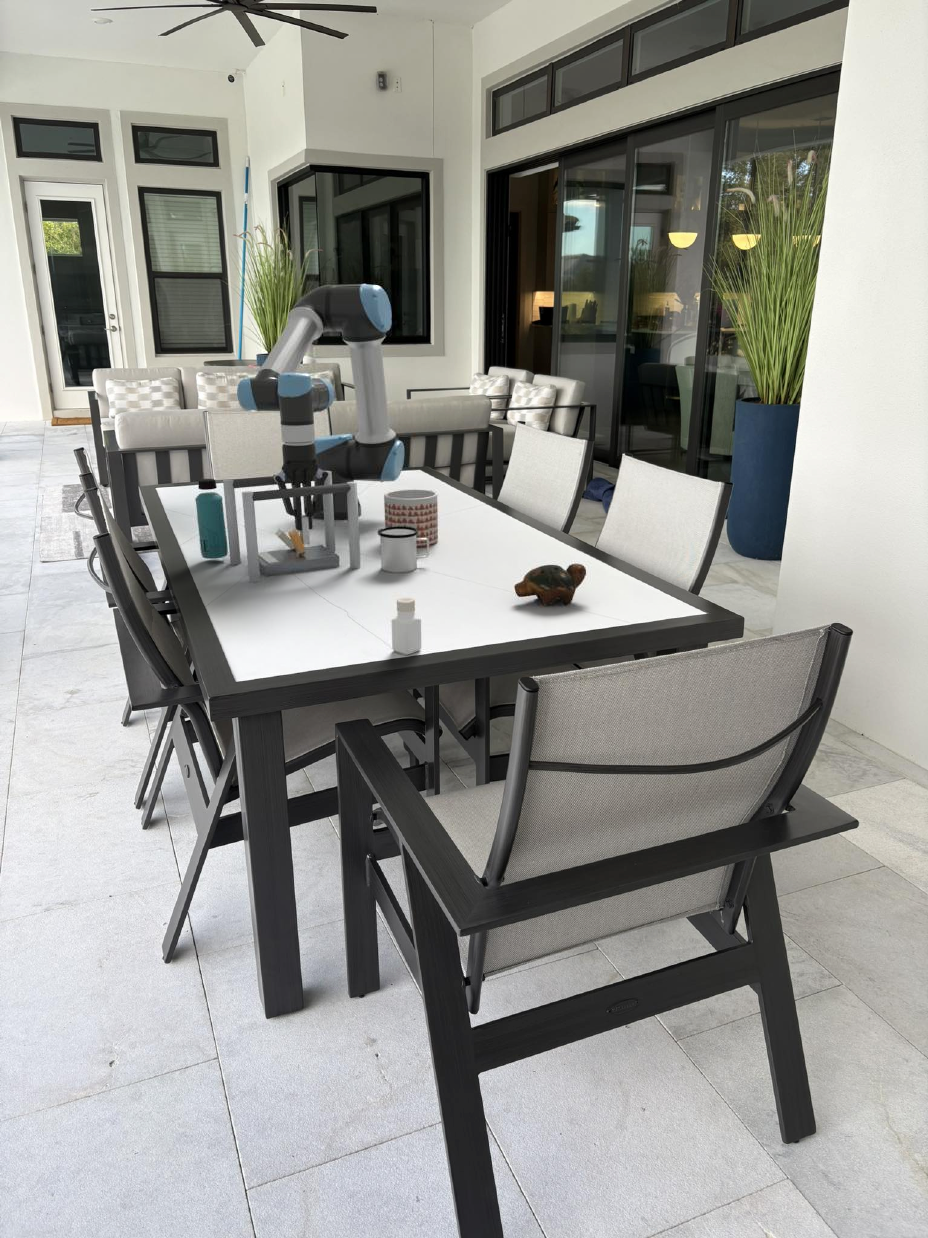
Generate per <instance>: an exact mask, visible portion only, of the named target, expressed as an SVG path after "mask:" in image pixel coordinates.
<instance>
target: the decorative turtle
mask: <svg viewBox="0 0 928 1238" xmlns="http://www.w3.org/2000/svg"><path fill="white" fill-rule="evenodd" d="M586 576H587V569H586V567H585V566H584V564H581V563H571V564H569V565H568V566H567V568H566V569H564V568H563V567H562V566H560V565H558V564H545V565H540V566H538V567H536V568H535V567H534V568H533V569H531V570H529V571H528V572H526V574H525V575H524V576H523V579H522V580H521V581H520V582H518V583H516V584H514V591H515V594H516V595H517V597H519V598H525V597H526V598H527V597H530V596H531V597H532V596H536V598H537V599H539V600H541V601H542V604H543V605H545V606H546V607H549V606H551V605H552V604H553V603H554V602H555V601H556V600H557V599H559V600H560V601H561V603H563V604H564V605H566V606H568V605H570V604H571V603H572V601H573V599H574V596H575V593H576V590H577V589H578V588H579V586H580V585H581V584H583V581H584V580H585V579H586Z"/></svg>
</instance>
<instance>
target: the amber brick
mask: <svg viewBox="0 0 928 1238" xmlns="http://www.w3.org/2000/svg"><path fill="white" fill-rule="evenodd" d="M287 534H288V537H289V538H290V539H291V541H292V543H293V545H294V547H295V549H296V551H297V552H299V553H301V554H303V555H304V554H305V552H304V551H306V549H305V547H306V546H305V545H303V543H302V540H301V538H300V533H299V531H298V530H296V529H292V530H290V531H288V532H287Z"/></svg>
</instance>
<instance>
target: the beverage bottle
mask: <svg viewBox="0 0 928 1238" xmlns="http://www.w3.org/2000/svg"><path fill="white" fill-rule="evenodd" d="M197 484H198V490H202V491H204V490H205V491H206V492H200V493H199V494H198V495H197V496H196V497H195V500H194V501H195V507H196V516H197V517H196V519H197V526H198V528H197V529H198V536H199V537H198V539H199V548H200V556H201V557H202V558H204V559H211V560H212V559H213V560H214V559H221V558H225V557H227V556H228V553H229V545H228V539H227V538H228V536H227V530H226V522H225V513H224V512H225V511H224V504H223V496H221V494H220V493H218V492H215V491H214V492H213V491H211V490H215V489H217V488H218V487H217V483H216V479H214V478H201V479H198V483H197ZM207 490H208V491H209V490H210V492H208V491H207Z"/></svg>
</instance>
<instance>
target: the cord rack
mask: <svg viewBox="0 0 928 1238" xmlns="http://www.w3.org/2000/svg"><path fill="white" fill-rule="evenodd" d="M325 472H327V473H328V477H327V478H326V480H325V482H324V485H322V486H314V485H311V487H303V486H302V487H300V488H292V487H290V488H287V489H279V488H278V489H269V490H268V489H267V490H260V491H259V490H258V491H242V492H241V495H242V496H241V498H242V508H243V509H242V510H243V519H244V520H243V521H244V533H245V543H246V544H245V545H246V555H247V557H246V558H247V568H248V578H249V579H248V580H249V583H259V582H261V572H260V569H259V557H258V553H259V549H258V545H259V544H258V534H257V533H258V532H257V522H256V510H255V502H260V501H261V502H262V501H267V500H268V501H269V500H280V499H282V498H290V499H291V498H293V497H301V498H302V497H303V496H311V497H313V495H322V494H323V507H324V519H323V523H324V539H325V547H326V548H328V549H329V550H331V551H332V552H334V553H335V552H336V537H335V536H336V534H335V533H336V532H335V520H334V511H333V493H342V492H347V508H348V519H347V528H348V529H347V530H348V546H349V547H348V548H349V549H348V550H349V551H348V552H349V568H351V569H360V568H361V550H360V549H361V548H360V547H361V545H360V528H359V527H360V526H359V525H360V524H359V516H358V499H359V498H357V497H358V482H357V481H354V482H347V483H343V484H333V485H332V473H331V471H325ZM316 474H317V473H316ZM316 474H315V476H314V478H313V479H312V481H311V482H314V481H316V479H317V477H316ZM284 477H285V481H284V483H285V485H287V484H288V485H289V484H291V482H290V480H289V479H288V478H287V477H286V476H284ZM222 484H223V496H224V505H225V516H226V529H227V538H228V539H227V541H228V552H229V558H230V559H229V560H230V564H231V565H233V566H234V565H236V566H237V565H240V564H242V560H241V550H240V539H239V538H240V537H239V535H240V534H239V526H238V516H237V515H238V512H237V503H236V491H235V489H240V488H241V489H243V488H252V487H253V488H256V487H264V486H265V487H266V486H275V485H277V486H278V484H277V483H276V482H275V480H274V479H273V475H272V476H263V477H251V478H250V477H249V478H238V479H227V478H226V479H222Z"/></svg>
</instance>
